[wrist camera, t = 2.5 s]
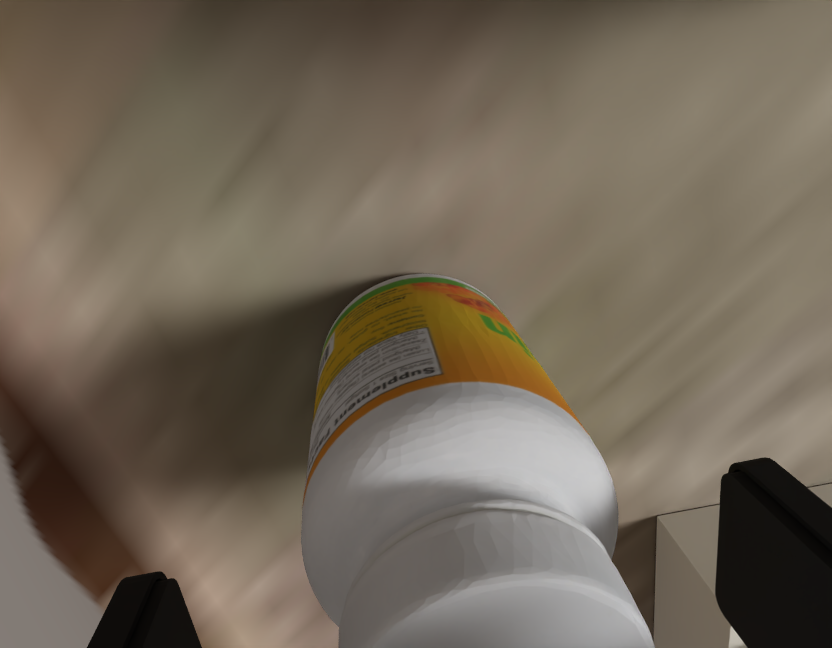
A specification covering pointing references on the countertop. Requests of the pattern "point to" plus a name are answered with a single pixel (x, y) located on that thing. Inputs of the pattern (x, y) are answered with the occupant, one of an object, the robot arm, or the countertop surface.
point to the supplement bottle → (455, 485)
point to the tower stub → (693, 580)
